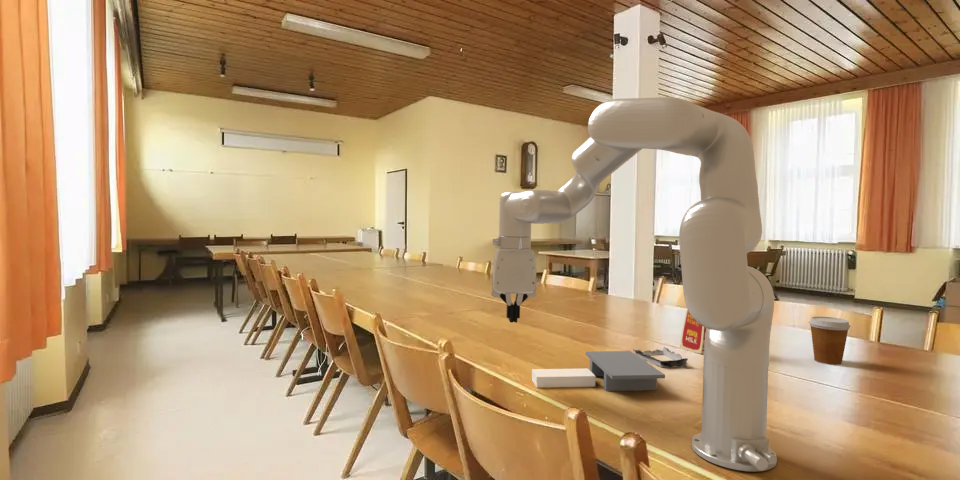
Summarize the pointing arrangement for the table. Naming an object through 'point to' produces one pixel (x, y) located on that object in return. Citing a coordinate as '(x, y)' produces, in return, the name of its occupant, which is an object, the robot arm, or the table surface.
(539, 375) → the white rectangular block
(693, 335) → the milk carton
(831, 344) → the disposable coffee cup
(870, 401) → the table surface
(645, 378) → the grey flat-topped block
